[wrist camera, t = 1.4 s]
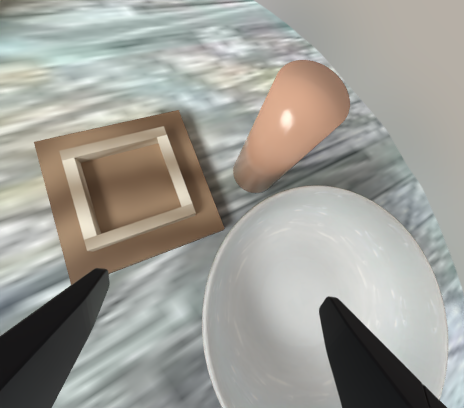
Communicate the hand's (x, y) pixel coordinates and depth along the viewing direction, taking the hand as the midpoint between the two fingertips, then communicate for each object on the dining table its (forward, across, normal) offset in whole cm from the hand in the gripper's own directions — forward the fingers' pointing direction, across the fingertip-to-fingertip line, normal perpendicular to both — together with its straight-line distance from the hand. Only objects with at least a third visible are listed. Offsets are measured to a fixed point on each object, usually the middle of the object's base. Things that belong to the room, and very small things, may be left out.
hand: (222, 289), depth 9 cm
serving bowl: (+9, -10, +11) cm, 18 cm away
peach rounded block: (+18, -4, +2) cm, 19 cm away
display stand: (+15, +8, +5) cm, 18 cm away
